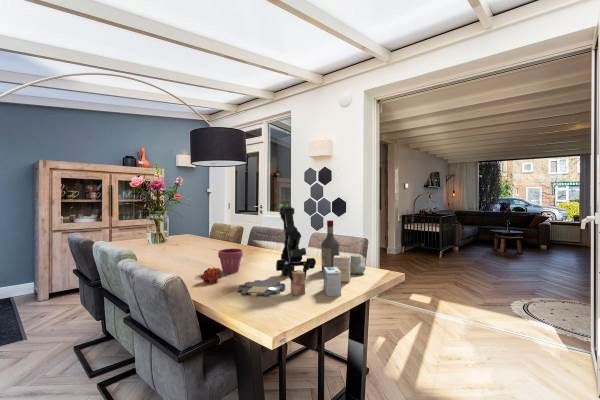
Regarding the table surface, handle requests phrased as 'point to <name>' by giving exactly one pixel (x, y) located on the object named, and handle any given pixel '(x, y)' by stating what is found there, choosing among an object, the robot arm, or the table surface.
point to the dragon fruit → (211, 275)
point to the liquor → (329, 247)
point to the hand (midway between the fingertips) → (298, 280)
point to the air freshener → (356, 265)
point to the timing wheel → (261, 288)
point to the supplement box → (343, 267)
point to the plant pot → (230, 260)
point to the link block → (298, 282)
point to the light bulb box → (332, 281)
